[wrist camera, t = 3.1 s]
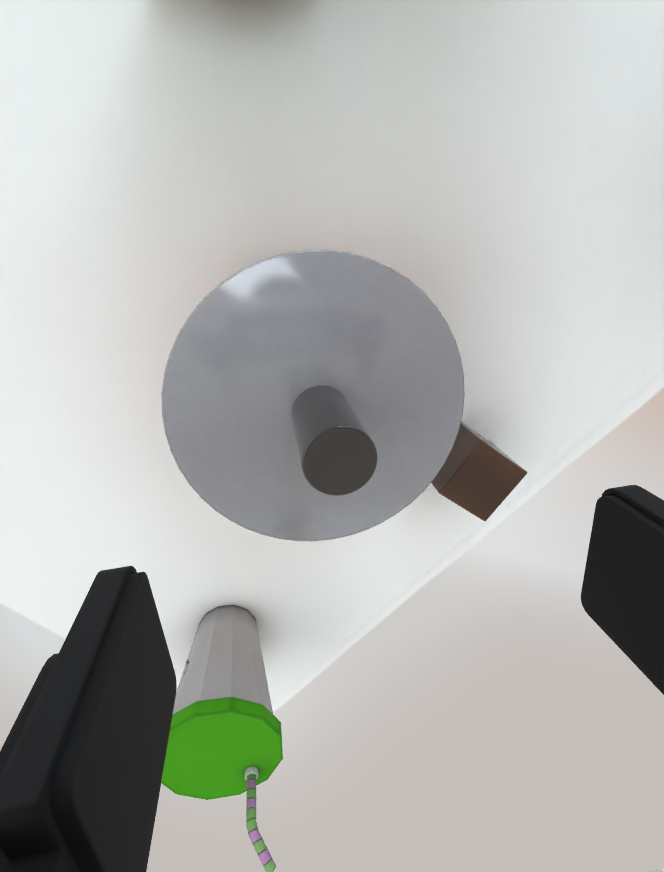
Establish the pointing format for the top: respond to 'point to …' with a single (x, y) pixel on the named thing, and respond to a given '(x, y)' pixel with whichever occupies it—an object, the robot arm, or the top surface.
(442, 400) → the lid
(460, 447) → the block
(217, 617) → the cup
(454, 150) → the top surface
